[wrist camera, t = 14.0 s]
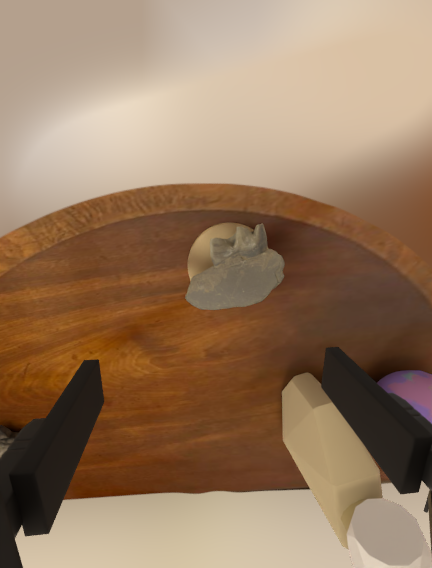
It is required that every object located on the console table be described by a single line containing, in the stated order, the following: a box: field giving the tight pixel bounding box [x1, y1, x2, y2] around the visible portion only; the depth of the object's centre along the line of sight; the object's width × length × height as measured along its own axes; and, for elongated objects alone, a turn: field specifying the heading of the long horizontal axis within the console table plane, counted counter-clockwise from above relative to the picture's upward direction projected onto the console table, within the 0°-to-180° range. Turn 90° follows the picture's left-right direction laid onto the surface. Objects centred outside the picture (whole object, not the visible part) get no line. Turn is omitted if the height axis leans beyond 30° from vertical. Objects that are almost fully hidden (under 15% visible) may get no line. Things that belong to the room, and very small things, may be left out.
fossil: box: [185, 224, 285, 310], centre depth 38 cm, size 14×10×10 cm
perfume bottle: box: [282, 373, 432, 568], centre depth 39 cm, size 12×24×28 cm, turn 15°
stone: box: [0, 425, 18, 458], centre depth 47 cm, size 14×8×3 cm, turn 162°
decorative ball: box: [377, 370, 432, 423], centre depth 47 cm, size 15×15×15 cm
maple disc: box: [188, 222, 268, 280], centre depth 43 cm, size 13×13×2 cm
